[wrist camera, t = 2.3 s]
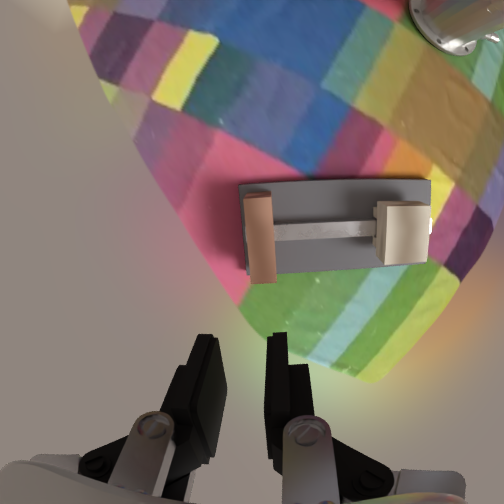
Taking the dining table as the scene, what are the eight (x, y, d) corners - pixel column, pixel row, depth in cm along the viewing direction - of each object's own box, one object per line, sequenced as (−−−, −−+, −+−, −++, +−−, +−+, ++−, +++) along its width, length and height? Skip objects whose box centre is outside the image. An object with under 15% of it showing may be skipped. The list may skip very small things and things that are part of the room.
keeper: (413, 198, 35) (431, 205, 30) (410, 248, 37) (426, 261, 32) (373, 199, 35) (387, 206, 30) (372, 251, 37) (384, 265, 33)
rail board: (426, 179, 35) (449, 185, 29) (421, 259, 39) (441, 277, 33) (239, 184, 38) (233, 190, 31) (247, 271, 41) (243, 292, 35)
